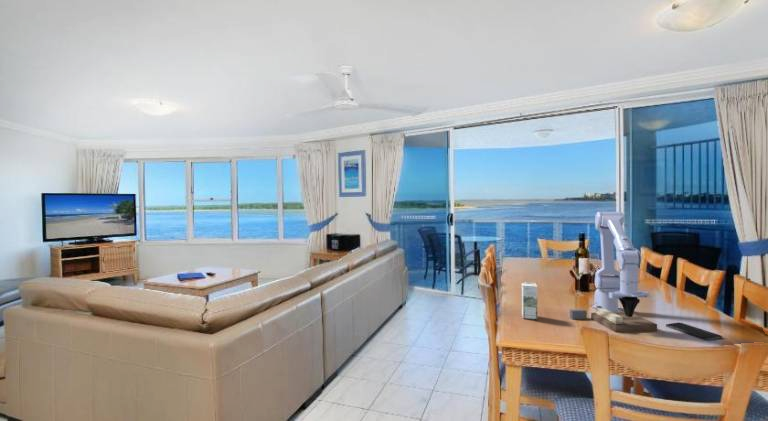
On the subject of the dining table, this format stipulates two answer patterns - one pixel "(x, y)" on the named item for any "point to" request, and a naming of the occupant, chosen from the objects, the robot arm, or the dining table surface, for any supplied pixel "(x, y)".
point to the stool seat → (626, 323)
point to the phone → (694, 331)
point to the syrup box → (529, 300)
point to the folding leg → (609, 315)
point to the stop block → (578, 314)
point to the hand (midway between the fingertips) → (628, 316)
